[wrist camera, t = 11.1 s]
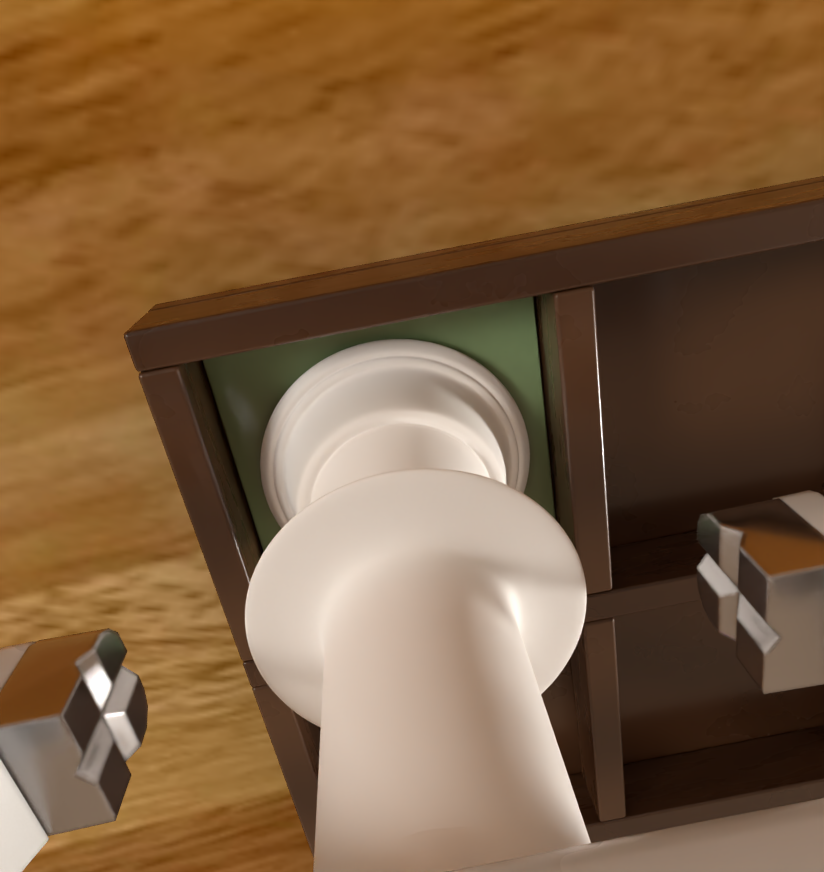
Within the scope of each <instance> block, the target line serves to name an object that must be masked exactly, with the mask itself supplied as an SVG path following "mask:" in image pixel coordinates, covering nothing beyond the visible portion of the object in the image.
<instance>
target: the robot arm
mask: <svg viewBox="0 0 824 872" xmlns="http://www.w3.org/2000/svg"><path fill="white" fill-rule="evenodd" d="M697 541H698V542H699V543H700V545H701V546H702V547H703V548H704V549H705V551H706V552H707V553H706V554H705V556H704V557H703V559H702V560H701V561H700V563H699V564H698V566H697V587H698V591H699V595H700V598H701V602H702V606H703V608H704V610H705V612H706V614H707V616H708V618H709V620H710V622H711V623H712V625H713V626H714V627H715V629H716V630H717V632H718V633H719V634H721V635H723V636H725V637H728V638H730V639H732V640H734V641H736V658H737V659H738V660H739V662H740V663H741V665H742V666H743V667H744V669H745V670H746V671H747V673H748V674H749V675H750V677H751V678H752V679H753V681H754V682H755V683H756V685H757V686H758V687H759V689H760V690H761V691H762V693H763V694H768V693H774V692H780V691H786V690H792V689H798V688H804V687H810V686H816V685H822V684H824V496H823V495H821V494H820V493H818V492H814V491H810V490H808V491H803V492H799V493H794V494H790V495H785V496H781V497H777V498H773V499H772V500H767V501H762V502H758V503H753V504H748V505H743V506H738V507H733V508H728V509H724V510H719V511H714V512H709V513H704V514H700V517H699V520H698V523H697ZM126 653H127V650H126V648H125V646H124V644H123V642H122V640H121V638H120V636H119V634H118V632H116V631H113V630H111V629H109V628H108V629H102V630H97V631H91V632H85V633H79V634H73V635H68V636H62V637H56V638H50V639H44V640H39V641H37V642H28V643H23V644H18V645H12V646H7V647H3V648H1V649H0V872H22V871H23V870H24V868H25V867H26V866H27V865H28V864H29V863H30V861H31V860H32V859H33V858H34V857H35V855H36V854H37V853H38V852H39V851H40V850H41V848H42V847H43V846H44V845H45V844H46V842H47V841H48V840H49V838H48V836H50V835H54V834H59V833H63V832H68V831H72V830H77V829H81V828H85V827H90V826H94V825H99V824H103V823H108V822H112V821H115V820H116V817H117V815H118V812H119V809H120V806H121V803H122V800H123V797H124V794H125V791H126V788H127V786H128V783H129V780H130V777H131V773H130V771H129V769H128V767H127V765H126V763H125V762H126V761H127V760H128V759H129V758H130V757H131V756H132V755H133V753H134V752H135V751H136V750H137V749H138V748H139V747H140V746H141V744H142V741H143V738H144V735H145V732H146V728H147V711H148V705H147V700H146V695H145V690H144V687H143V685H142V683H141V680H140V678H139V676H138V675H137V674H135V673H134V672H132V671H130V670H129V669H127V668H125V667H124V666H122V663H123V660H124V658H125V655H126ZM446 872H824V798H820V799H815V800H810V801H805V802H800V803H794V804H789V805H784V806H779V807H774V808H769V809H764V810H759V811H753V812H748V813H743V814H738V815H733V816H728V817H723V818H718V819H712V820H707V821H702V822H697V823H692V824H687V825H682V826H677V827H671V828H666V829H661V830H656V831H651V832H646V833H641V834H636V835H630V836H625V837H620V838H615V839H610V840H605V841H600V842H595V843H589V844H584V845H579V846H574V847H569V848H564V849H559V850H554V851H548V852H543V853H538V854H533V855H528V856H523V857H518V858H513V859H508V860H503V861H497V862H492V863H487V864H482V865H477V866H472V867H467V868H462V869H457V870H452V871H446Z"/></svg>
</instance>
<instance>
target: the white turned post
mask: <svg viewBox="0 0 824 872" xmlns="http://www.w3.org/2000/svg"><path fill="white" fill-rule="evenodd" d="M529 465H530V448H529V439H528V434H527V430H526V426H525V423H524V420H523V417H522V415H521V412H520V410H519V408H518V406H517V404H516V402H515V401H514V399H513V397H512V396H511V394H510V393H509V392H508V390H507V389H506V388H505V386H504V385H503V384H502V383H501V382H500V381H499V380H498V379H497V378H496V377H495V376H494V375H493V374H492V373H491V372H490V371H489V370H488V369H486V368H485V367H484V366H482V365H481V364H480V363H478V362H477V361H475V360H473V359H472V358H470V357H468V356H467V355H465V354H463V353H461V352H458V351H456V350H454V349H451V348H449V347H446V346H443V345H439V344H435V343H431V342H426V341H420V340H412V339H387V340H378V341H372V342H367V343H363V344H359V345H355V346H352V347H349V348H346V349H344V350H341V351H339V352H337V353H335V354H333V355H331V356H329V357H327V358H325V359H323V360H322V361H320V362H319V363H317V364H316V365H314V366H313V367H311V368H310V369H309V370H307V371H306V372H305V373H304V374H303V375H302V376H300V377H299V378H298V379H297V380H296V381H295V382H294V383H293V384H292V385H291V387H290V388H289V389H288V390H287V391H286V393H285V394H284V395H283V397H282V398H281V399H280V401H279V402H278V404H277V406H276V407H275V409H274V411H273V413H272V415H271V417H270V419H269V422H268V424H267V427H266V430H265V433H264V437H263V442H262V447H261V456H260V472H261V481H262V486H263V490H264V494H265V497H266V500H267V503H268V505H269V508H270V510H271V512H272V514H273V516H274V518H275V519H276V521H277V523H278V524H279V526H280V527H281V530H280V531H279V532H278V533H277V535H276V536H275V537H274V538H273V540H272V541H271V542H270V544H269V545H268V546H267V548H266V550H265V551H264V553H263V554H262V556H261V558H260V560H259V562H258V564H257V566H256V568H255V570H254V573H253V575H252V578H251V581H250V584H249V588H248V592H247V597H246V605H245V628H246V636H247V641H248V645H249V648H250V652H251V655H252V657H253V660H254V662H255V664H256V666H257V668H258V670H259V672H260V674H261V675H262V677H263V678H264V680H265V681H266V683H267V684H268V686H269V687H270V688H271V689H272V691H273V692H274V693H275V694H276V695H277V696H278V697H279V698H280V699H281V700H282V701H283V702H284V703H285V704H286V705H287V706H288V707H290V708H291V709H292V710H293V711H295V712H296V713H297V714H299V715H300V716H302V717H303V718H305V719H306V720H308V721H310V722H311V723H313V724H315V725H317V726H319V727H321V730H320V750H319V770H318V791H317V811H316V831H315V851H314V871H313V872H446V871H452V870H457V869H462V868H467V867H472V866H477V865H482V864H487V863H492V862H497V861H503V860H508V859H513V858H518V857H523V856H528V855H533V854H538V853H543V852H548V851H554V850H559V849H564V848H569V847H574V846H579V845H584V844H589V843H591V842H590V839H589V836H588V833H587V830H586V827H585V824H584V821H583V818H582V815H581V812H580V809H579V806H578V803H577V800H576V797H575V794H574V791H573V788H572V785H571V782H570V779H569V776H568V773H567V770H566V767H565V765H564V762H563V759H562V756H561V753H560V750H559V747H558V744H557V741H556V738H555V735H554V732H553V729H552V726H551V723H550V720H549V717H548V714H547V711H546V708H545V705H544V702H543V699H542V696H541V694H542V693H543V692H544V691H545V690H546V689H547V688H548V687H549V686H550V685H551V684H552V683H553V681H554V680H555V679H556V678H557V677H558V675H559V674H560V673H561V671H562V670H563V669H564V667H565V666H566V664H567V662H568V661H569V659H570V657H571V655H572V654H573V652H574V649H575V647H576V645H577V643H578V640H579V638H580V635H581V632H582V628H583V624H584V619H585V614H586V602H587V593H586V582H585V576H584V572H583V568H582V565H581V562H580V559H579V556H578V554H577V551H576V549H575V547H574V545H573V543H572V542H571V540H570V538H569V537H568V535H567V534H566V532H565V531H564V530H563V528H562V527H561V526H560V524H559V523H558V522H557V521H556V520H555V519H554V518H553V517H552V516H551V515H550V514H549V513H548V512H547V511H546V510H545V509H544V508H543V507H541V506H540V505H539V504H538V503H536V502H535V501H534V500H532V499H531V498H529V497H528V496H526V495H525V494H523V493H524V490H525V487H526V483H527V479H528V473H529Z"/></svg>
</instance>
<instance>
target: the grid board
mask: <svg viewBox="0 0 824 872" xmlns="http://www.w3.org/2000/svg"><path fill="white" fill-rule="evenodd" d="M124 338H125V341H126V344H127V347H128V349H129V352H130V355H131V358H132V360H133V363H134V366H135V368H136V370H137V371H140V373H139V380H140V382H141V385H142V388H143V391H144V393H145V396H146V399H147V402H148V404H149V407H150V410H151V412H152V415H153V418H154V421H155V423H156V426H157V429H158V432H159V434H160V437H161V440H162V443H163V445H164V448H165V451H166V454H167V456H168V459H169V462H170V465H171V467H172V470H173V473H174V476H175V478H176V481H177V484H178V487H179V489H180V492H181V495H182V498H183V500H184V503H185V506H186V509H187V511H188V514H189V517H190V520H191V522H192V525H193V528H194V530H195V533H196V536H197V539H198V541H199V544H200V547H201V550H202V552H203V555H204V558H205V561H206V563H207V566H208V569H209V572H210V574H211V577H212V580H213V583H214V585H215V588H216V591H217V594H218V596H219V599H220V602H221V605H222V607H223V610H224V613H225V616H226V618H227V621H228V624H229V627H230V629H231V632H232V635H233V638H234V640H235V643H236V646H237V648H238V651H239V654H240V657H241V659H242V660H243V666H244V668H245V671H246V674H247V677H248V679H249V682H250V685H251V686H252V687H253V688H252V690H253V692H254V695H255V698H256V701H257V703H258V706H259V709H260V712H261V714H262V717H263V720H264V723H265V725H266V728H267V731H268V734H269V736H270V739H271V742H272V745H273V747H274V750H275V753H276V756H277V758H278V761H279V764H280V767H281V769H282V772H283V775H284V777H285V780H286V783H287V786H288V788H289V791H290V794H291V797H292V799H293V802H294V805H295V808H296V810H297V813H298V816H299V819H300V821H301V824H302V827H303V830H304V832H305V835H306V838H307V841H308V843H309V846H310V849H311V852H312V854H313V857H314V851H315V831H316V811H317V791H318V770H319V750H320V730H321V727H319V726H317V725H315V724H313V723H311V722H310V721H308V720H306V719H305V718H303V717H302V716H300V715H299V714H297V713H296V712H295V711H293V710H292V709H291V708H290V707H288V706H287V705H286V704H285V703H284V702H283V701H282V700H281V699H280V698H279V697H278V696H277V695H276V694H275V693H274V692H273V691H272V689H271V688H270V687H269V686H268V684H267V683H266V681H265V680H264V678H263V677H262V675H261V674H260V672H259V670H258V668H257V666H256V664H255V662H254V660H253V657H252V655H251V652H250V648H249V645H248V641H247V636H246V628H245V605H246V597H247V592H248V588H249V584H250V581H251V578H252V575H253V573H254V570H255V568H256V566H257V564H258V562H259V560H260V558H261V556H262V554H263V553H264V551H265V550H266V548H267V546H268V545H269V544H270V542H271V541H272V540H273V538H274V537H275V536H276V535H277V533H278V532H279V531H280V530H281V527H280V526H279V524H278V523H277V521H276V519H275V518H274V516H273V514H272V512H271V510H270V508H269V505H268V503H267V500H266V497H265V494H264V490H263V486H262V481H261V472H260V456H261V447H262V442H263V437H264V433H265V430H266V427H267V424H268V422H269V419H270V417H271V415H272V413H273V411H274V409H275V407H276V406H277V404H278V402H279V401H280V399H281V398H282V397H283V395H284V394H285V393H286V391H287V390H288V389H289V388H290V387H291V385H292V384H293V383H294V382H295V381H296V380H297V379H298V378H299V377H300V376H302V375H303V374H304V373H305V372H306V371H307V370H309V369H310V368H311V367H313V366H314V365H316V364H317V363H319V362H320V361H322V360H323V359H325V358H327V357H329V356H331V355H333V354H335V353H337V352H339V351H341V350H344V349H346V348H349V347H352V346H355V345H359V344H363V343H367V342H372V341H378V340H387V339H412V340H420V341H426V342H431V343H435V344H439V345H443V346H446V347H449V348H451V349H454V350H456V351H458V352H461V353H463V354H465V355H467V356H468V357H470V358H472V359H473V360H475V361H477V362H478V363H480V364H481V365H482V366H484V367H485V368H486V369H488V370H489V371H490V372H491V373H492V374H493V375H494V376H495V377H496V378H497V379H498V380H499V381H500V382H501V383H502V384H503V385H504V386H505V388H506V389H507V390H508V392H509V393H510V394H511V396H512V397H513V399H514V401H515V402H516V404H517V406H518V408H519V410H520V412H521V415H522V417H523V420H524V423H525V426H526V430H527V434H528V439H529V448H530V465H529V473H528V479H527V483H526V487H525V490H524V493H523V494H525V495H526V496H528V497H529V498H531V499H532V500H534V501H535V502H536V503H538V504H539V505H540V506H541V507H543V508H544V509H545V510H546V511H547V512H548V513H549V514H550V515H551V516H552V517H553V518H554V519H555V520H556V521H557V522H558V523H559V524H560V526H561V527H562V528H563V530H564V531H565V532H566V534H567V535H568V537H569V538H570V540H571V542H572V543H573V545H574V547H575V549H576V551H577V554H578V556H579V559H580V562H581V565H582V568H583V572H584V576H585V582H586V593H587V602H586V614H585V619H584V624H583V628H582V632H581V635H580V638H579V640H578V643H577V645H576V647H575V649H574V652H573V654H572V655H571V657H570V659H569V661H568V662H567V664H566V666H565V667H564V669H563V670H562V671H561V673H560V674H559V675H558V677H557V678H556V679H555V680H554V681H553V683H552V684H551V685H550V686H549V687H548V688H547V689H546V690H545V691H544V692H543V693H542V694H541V696H542V699H543V702H544V705H545V708H546V711H547V714H548V717H549V720H550V723H551V726H552V729H553V732H554V735H555V738H556V741H557V744H558V747H559V750H560V753H561V756H562V759H563V762H564V765H565V767H566V770H567V773H568V776H569V779H570V782H571V785H572V788H573V791H574V794H575V797H576V800H577V803H578V806H579V809H580V812H581V815H582V818H583V821H584V824H585V827H586V830H587V833H588V836H589V839H590V842H591V843H595V842H600V841H605V840H610V839H615V838H620V837H625V836H630V835H636V834H641V833H646V832H651V831H656V830H661V829H666V828H671V827H677V826H682V825H687V824H692V823H697V822H702V821H707V820H712V819H718V818H723V817H728V816H733V815H738V814H743V813H748V812H753V811H759V810H764V809H769V808H774V807H779V806H784V805H789V804H794V803H800V802H805V801H810V800H815V799H820V798H824V684H822V685H816V686H810V687H804V688H798V689H792V690H786V691H780V692H774V693H768V694H763V693H762V691H761V690H760V689H759V687H758V686H757V685H756V683H755V682H754V681H753V679H752V678H751V677H750V675H749V674H748V673H747V671H746V670H745V669H744V667H743V666H742V665H741V663H740V662H739V660H738V659H737V658H736V641H734V640H732V639H730V638H728V637H725V636H723V635H721V634H719V633H718V632H717V630H716V629H715V627H714V626H713V625H712V623H711V622H710V620H709V618H708V616H707V614H706V612H705V610H704V608H703V606H702V602H701V598H700V595H699V591H698V587H697V566H698V564H699V563H700V561H701V560H702V559H703V557H704V556H705V554H706V553H707V552H706V551H705V549H704V548H703V547H702V546H701V545H700V543H699V542H698V541H697V523H698V520H699V517H700V514H704V513H709V512H714V511H719V510H724V509H728V508H733V507H738V506H743V505H748V504H753V503H758V502H762V501H767V500H772V499H773V498H777V497H781V496H785V495H790V494H794V493H799V492H803V491H808V490H810V491H814V492H818V493H820V494H821V495H823V496H824V176H822V177H816V178H811V179H806V180H801V181H796V182H790V183H785V184H780V185H775V186H770V187H765V188H759V189H754V190H749V191H744V192H739V193H733V194H728V195H723V196H718V197H713V198H707V199H702V200H697V201H692V202H687V203H681V204H676V205H671V206H666V207H661V208H655V209H650V210H645V211H640V212H635V213H629V214H624V215H619V216H614V217H609V218H603V219H598V220H593V221H588V222H583V223H577V224H572V225H567V226H562V227H557V228H552V229H546V230H541V231H536V232H531V233H526V234H520V235H515V236H510V237H505V238H500V239H494V240H489V241H484V242H479V243H474V244H468V245H463V246H458V247H453V248H448V249H442V250H437V251H432V252H427V253H422V254H416V255H411V256H406V257H401V258H396V259H390V260H385V261H380V262H375V263H370V264H364V265H359V266H354V267H349V268H344V269H339V270H333V271H328V272H323V273H318V274H313V275H307V276H302V277H297V278H292V279H287V280H281V281H276V282H271V283H266V284H261V285H255V286H250V287H245V288H240V289H235V290H229V291H224V292H219V293H214V294H209V295H203V296H198V297H193V298H188V299H183V300H177V301H172V302H167V303H162V304H157V305H155V306H153V307H152V308H151V309H150V310H149V311H148V313H146V314H145V315H144V316H143V317H142V318H141V319H140V320H139V321H138V322H137V323H135V324H134V325H133V326H132V327H131V328H130V329H129V330H128V331H127V332H125V333H124Z"/></svg>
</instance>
